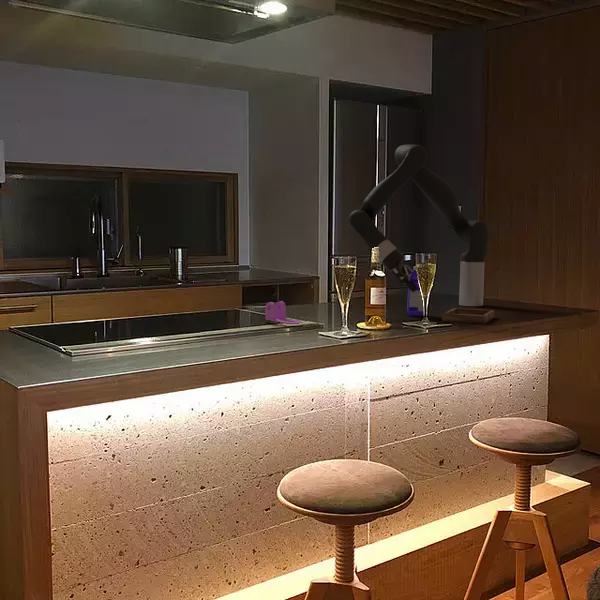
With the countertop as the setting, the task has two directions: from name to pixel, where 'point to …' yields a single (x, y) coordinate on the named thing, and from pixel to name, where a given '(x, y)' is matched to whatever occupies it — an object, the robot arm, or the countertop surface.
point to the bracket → (278, 313)
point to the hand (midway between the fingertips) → (419, 289)
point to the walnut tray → (468, 315)
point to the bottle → (415, 298)
